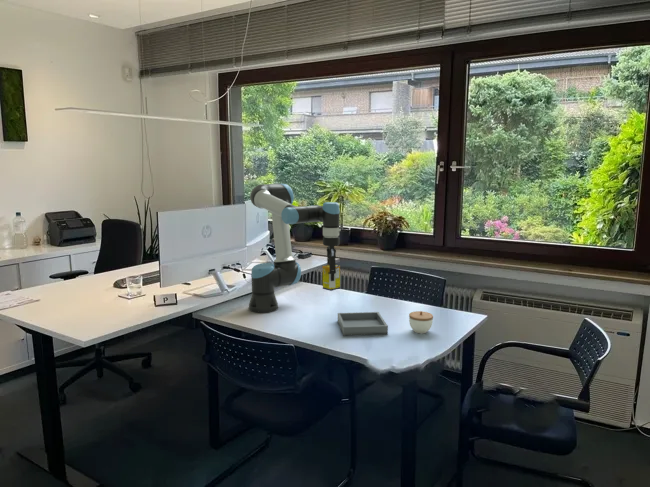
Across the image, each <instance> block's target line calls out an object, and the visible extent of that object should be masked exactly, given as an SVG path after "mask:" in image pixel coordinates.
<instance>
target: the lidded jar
mask: <svg viewBox="0 0 650 487" xmlns="http://www.w3.org/2000/svg"><path fill="white" fill-rule="evenodd" d="M408 314H409V315H408V317H409V318H408V319H409V320H408V321H409V326H410V328H411V329H412V331H413V332H414V333H416V334H426V333H428V331H430V330H431V328H432V325H433V322H434V321H433V319H434V315H433V314H432V313H431V312H427V311H423V310H420V311H417V310H416V311H412V312H410V313H408Z"/></svg>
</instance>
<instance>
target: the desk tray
mask: <svg viewBox="0 0 650 487" xmlns="http://www.w3.org/2000/svg"><path fill="white" fill-rule="evenodd" d="M337 323H338V326H339V328H340V331H341V334H342V336H343V337H352V336H353V337H354V336H383V335H386V336H387V335H388V334H389V333H388V331H389V325H388V323H387V322H386V321H385V319H384V318H383V316H382V315H381V314H380V312H379V311H373V312H372V311H370V312H368V311H367V312H338V313H337Z"/></svg>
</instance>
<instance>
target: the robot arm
mask: <svg viewBox="0 0 650 487" xmlns="http://www.w3.org/2000/svg"><path fill="white" fill-rule="evenodd" d="M249 198H250V202H251V204H252V205H253V206H254V207H257V208H258V209H264V210H266V211H269V212H270V214H271V220H272V221H271V222H272V230H273V232H272V233H273V240H274V248H275V249H274V250H275V259H274V260H273V263H272V262H263V263H258V264H255V265H253V267H251V275H250V276H251V297H250V300H249V303H248V310H249V311H250V312H253V313H257V314H259V313H260V314H261V313H262V314H266V313H273V312H275V311H277V310H278V309H279V303H278V300H277V297H276V295H275V294H276V293H275V288H280V287H285V286H292V285H296V284H298V282H299V281H300V279H301V277H302V267H301V265H300V264H299V262H297V261H296V258H295V257H293V252H292V251H293V250H292V242H291V240H292V239H291V232H290V230H291V229H290V225H295V224H305V223H316V222H317V223H322V236H323V237H322V245H323V246H325V247H326V257H327V258H326V259H327V260H326V262H327V264H326V265H329V268H330V272H328V274H329V288H335V273H336V265H337V264H336V258H337V257H336V254H337V249H336V248H335V247H336V246H337V247H338V246H339V245H340V232H341V229H340V218H341V217H340V214H341V211H340V204H339V203H338V202H335V201H334V202H333V201H331V202H328V201H327V202H323V204H322V205H319V204H311V205H307V206H297V205H294V204H293V203H294V199H295V196H294V191H293V189H292V187H291V186H290V185H288V184H287V183H268V184H267V183H262V184H258V185H256V186H255V187H253V188H252V190H251V191H250V194H249ZM332 270H334V271H332Z"/></svg>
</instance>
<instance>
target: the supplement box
mask: <svg viewBox="0 0 650 487" xmlns="http://www.w3.org/2000/svg"><path fill="white" fill-rule="evenodd" d="M332 271H334V270H332ZM328 272H330V268H329V265H327V264H326V265H322V290H326V291H329V292H332V291H333V292H334V291H336V290H341V265H338V264H336V273H335V288H329V274H328Z"/></svg>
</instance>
